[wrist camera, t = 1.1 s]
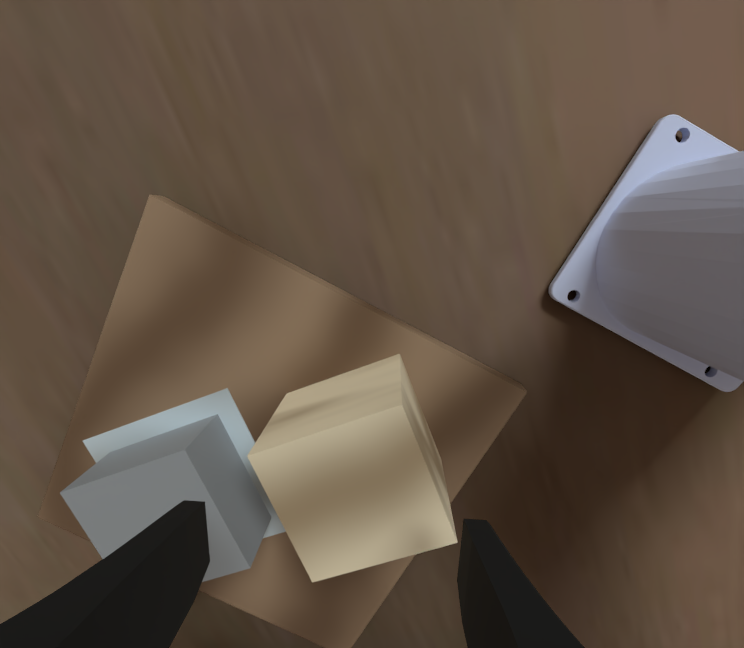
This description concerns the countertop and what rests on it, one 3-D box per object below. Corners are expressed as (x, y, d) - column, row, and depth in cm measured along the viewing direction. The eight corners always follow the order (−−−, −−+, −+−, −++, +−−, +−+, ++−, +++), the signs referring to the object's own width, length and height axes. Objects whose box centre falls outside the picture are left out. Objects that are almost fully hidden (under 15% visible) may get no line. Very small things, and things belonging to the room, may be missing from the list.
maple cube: (440, 458, 18) (457, 542, 14) (332, 491, 19) (312, 582, 14) (399, 353, 17) (401, 404, 12) (286, 393, 18) (247, 456, 13)
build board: (520, 383, 18) (527, 392, 17) (347, 638, 23) (344, 657, 22) (163, 196, 17) (149, 194, 16) (53, 503, 22) (36, 517, 20)
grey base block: (271, 517, 20) (250, 568, 17) (168, 548, 21) (131, 602, 18) (217, 413, 18) (184, 449, 16) (110, 452, 19) (59, 492, 16)
